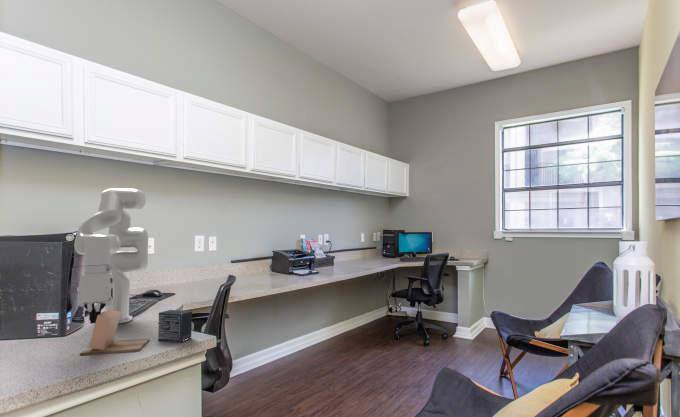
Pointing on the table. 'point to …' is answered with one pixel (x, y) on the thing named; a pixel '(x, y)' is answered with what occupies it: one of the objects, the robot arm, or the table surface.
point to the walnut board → (118, 347)
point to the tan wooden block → (104, 329)
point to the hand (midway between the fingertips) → (94, 322)
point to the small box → (174, 325)
